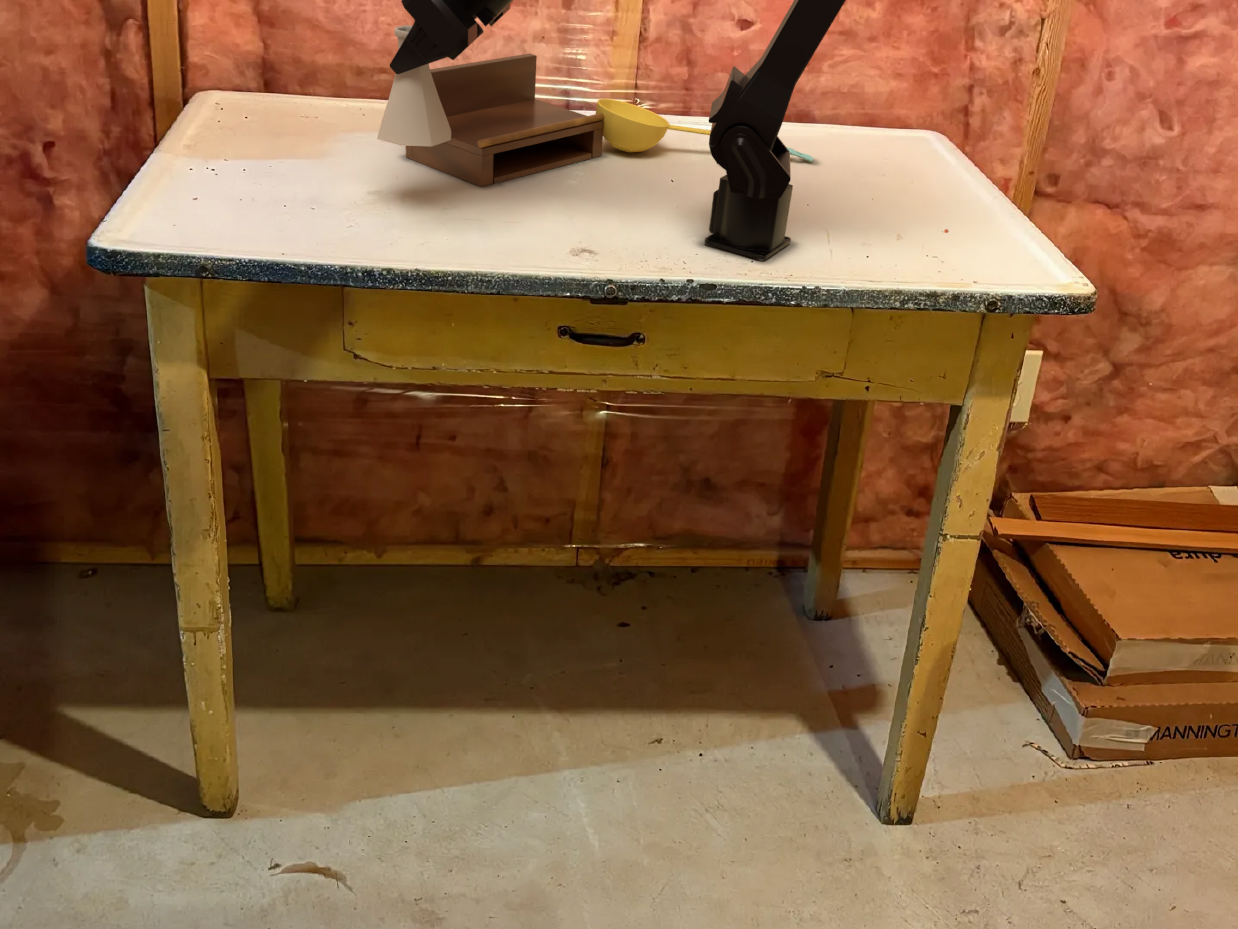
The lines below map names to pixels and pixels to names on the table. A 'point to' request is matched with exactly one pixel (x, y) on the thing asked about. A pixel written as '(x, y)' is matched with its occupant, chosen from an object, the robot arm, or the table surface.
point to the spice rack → (504, 124)
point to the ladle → (642, 127)
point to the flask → (414, 107)
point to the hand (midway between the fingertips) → (398, 65)
